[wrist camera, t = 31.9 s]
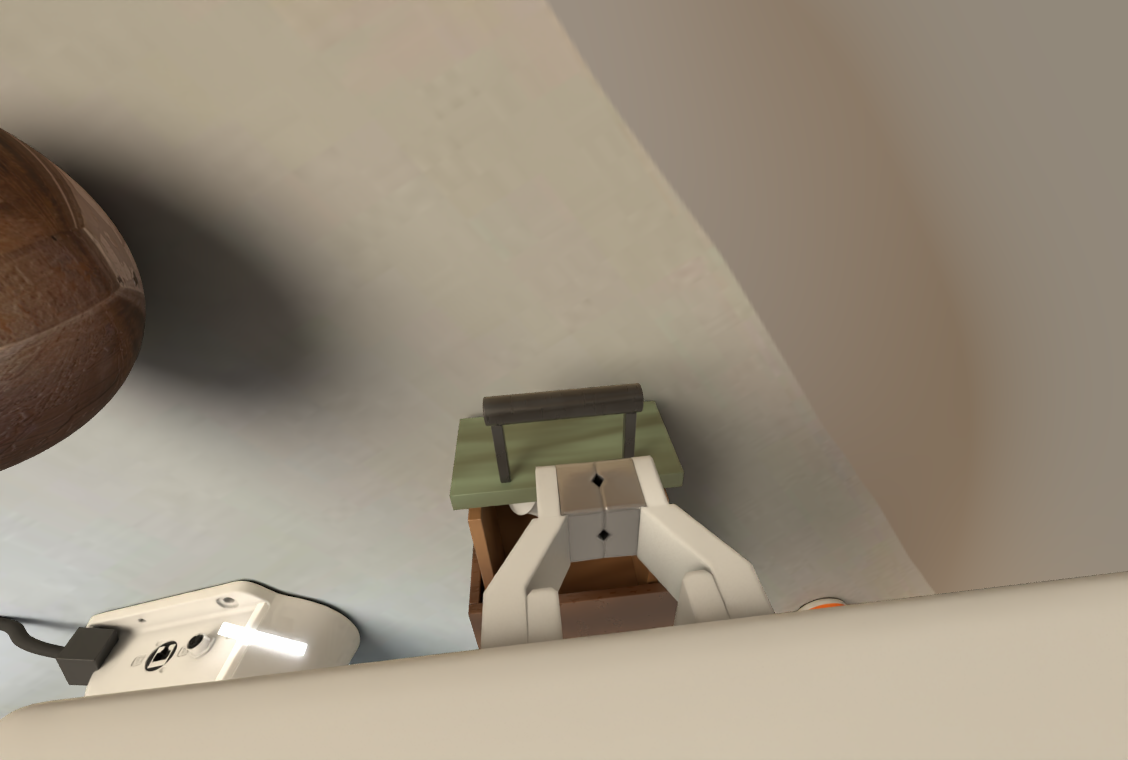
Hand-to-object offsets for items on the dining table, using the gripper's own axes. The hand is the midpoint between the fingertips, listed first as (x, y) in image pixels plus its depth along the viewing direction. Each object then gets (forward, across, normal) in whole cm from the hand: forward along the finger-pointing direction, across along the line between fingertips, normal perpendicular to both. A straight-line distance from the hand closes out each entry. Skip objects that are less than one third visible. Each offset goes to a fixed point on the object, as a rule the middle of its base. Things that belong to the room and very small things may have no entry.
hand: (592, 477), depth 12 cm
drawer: (+16, 0, -16) cm, 22 cm away
